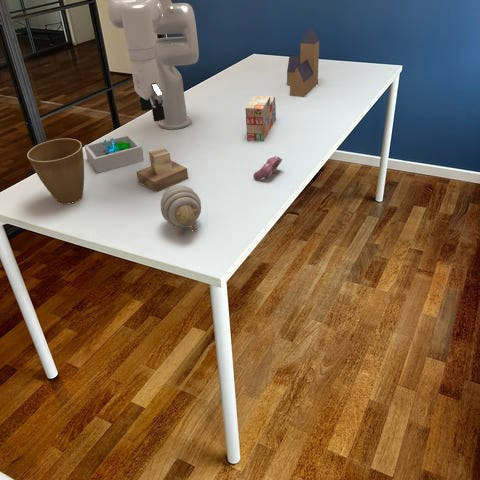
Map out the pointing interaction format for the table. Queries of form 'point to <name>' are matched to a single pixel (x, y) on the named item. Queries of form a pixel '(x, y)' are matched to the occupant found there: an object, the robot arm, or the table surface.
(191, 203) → the toy sheep
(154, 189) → the base block
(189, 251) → the table surface
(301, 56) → the toy building blocks
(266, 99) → the stack of blocks
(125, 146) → the green blue spiky piece
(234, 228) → the table surface
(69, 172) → the plant pot
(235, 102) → the table surface
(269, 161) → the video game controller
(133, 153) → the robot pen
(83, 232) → the table surface
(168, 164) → the oak block
